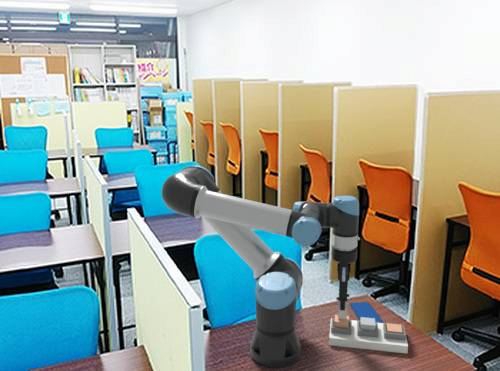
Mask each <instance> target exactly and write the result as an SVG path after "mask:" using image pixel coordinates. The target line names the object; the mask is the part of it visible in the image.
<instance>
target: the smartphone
mask: <svg viewBox="0 0 500 371" xmlns="http://www.w3.org/2000/svg"><path fill="white" fill-rule="evenodd" d="M349 307H350V308H351V309H352V312H353V313H354V314H355V316H356V318H357V320H360V318H361V317H365V318H375V322H377V323H384V321H383V318H381V316H380V315H379V314H378V312H377V311H376V310H375V308H374V307H373V306H372V304H370V302H368V301H363V302H362V301H361V302H360V301H359V302H350V303H349Z"/></svg>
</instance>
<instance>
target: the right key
mask: <svg viewBox="0 0 500 371" xmlns="http://www.w3.org/2000/svg"><path fill="white" fill-rule="evenodd" d="M386 323H387V324H386V332H389V333H399V334H403V332H402V326H401V325H399V324H400V323H392V324H388V323H389V322H386Z"/></svg>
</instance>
